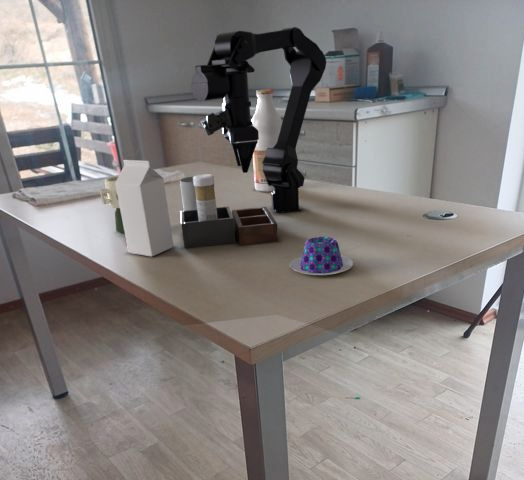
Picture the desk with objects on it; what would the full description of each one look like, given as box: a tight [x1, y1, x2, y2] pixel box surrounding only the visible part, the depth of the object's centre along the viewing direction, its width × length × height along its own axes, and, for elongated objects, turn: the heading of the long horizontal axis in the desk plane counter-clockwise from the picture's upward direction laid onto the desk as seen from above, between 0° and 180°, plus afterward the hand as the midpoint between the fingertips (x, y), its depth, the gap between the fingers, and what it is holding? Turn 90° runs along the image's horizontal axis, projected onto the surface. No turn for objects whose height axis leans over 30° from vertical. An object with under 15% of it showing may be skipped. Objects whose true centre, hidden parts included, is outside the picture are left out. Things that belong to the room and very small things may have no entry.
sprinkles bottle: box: [193, 173, 218, 221], centre depth 117 cm, size 5×5×14 cm
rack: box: [231, 206, 279, 246], centre depth 121 cm, size 8×16×4 cm, turn 9°
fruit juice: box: [251, 88, 283, 192], centre depth 157 cm, size 9×9×28 cm
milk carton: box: [115, 159, 174, 257], centre depth 110 cm, size 7×7×19 cm
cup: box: [179, 175, 197, 211], centre depth 135 cm, size 8×8×10 cm
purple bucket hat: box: [289, 236, 354, 276], centre depth 98 cm, size 12×12×5 cm
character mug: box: [99, 175, 125, 235], centre depth 126 cm, size 11×7×13 cm, turn 130°
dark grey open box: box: [180, 206, 236, 249], centre depth 119 cm, size 11×11×6 cm
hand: (242, 169), depth 124 cm, fingers open, 9 cm apart
